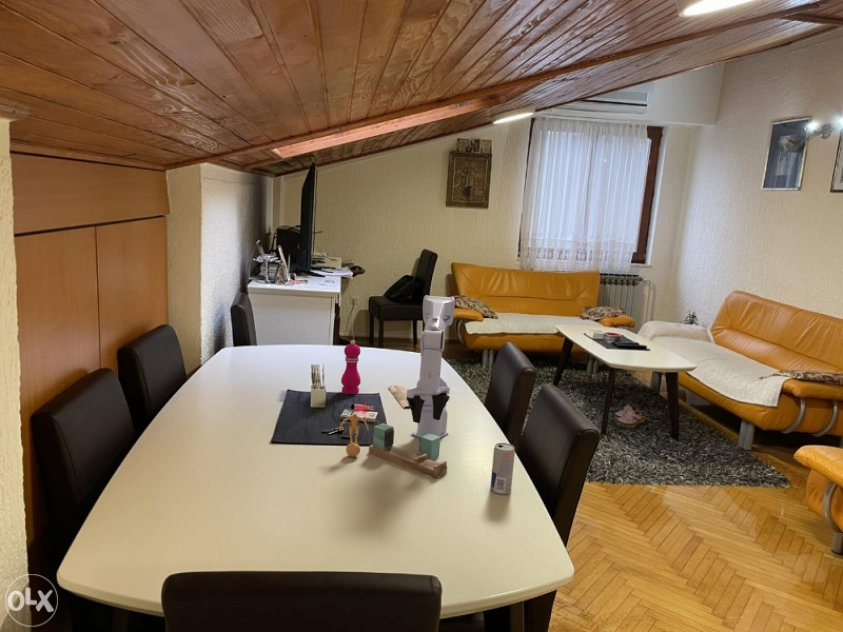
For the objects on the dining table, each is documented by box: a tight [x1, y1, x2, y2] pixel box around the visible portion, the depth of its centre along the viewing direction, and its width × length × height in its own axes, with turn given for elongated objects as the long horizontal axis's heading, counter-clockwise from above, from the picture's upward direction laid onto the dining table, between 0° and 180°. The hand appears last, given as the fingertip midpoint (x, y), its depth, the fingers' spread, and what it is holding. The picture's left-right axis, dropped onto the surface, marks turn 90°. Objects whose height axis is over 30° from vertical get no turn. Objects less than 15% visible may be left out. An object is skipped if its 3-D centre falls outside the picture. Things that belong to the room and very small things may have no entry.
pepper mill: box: [340, 339, 362, 395], centre depth 233 cm, size 7×7×20 cm
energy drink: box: [490, 442, 516, 496], centre depth 162 cm, size 5×5×12 cm
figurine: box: [338, 413, 369, 458], centre depth 178 cm, size 8×6×12 cm
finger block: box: [418, 433, 441, 461], centre depth 181 cm, size 4×5×6 cm
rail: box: [368, 423, 448, 479], centre depth 176 cm, size 5×24×8 cm, turn 53°
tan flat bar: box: [388, 384, 410, 409], centre depth 233 cm, size 24×7×2 cm, turn 16°
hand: (426, 420), depth 177 cm, fingers open, 7 cm apart
